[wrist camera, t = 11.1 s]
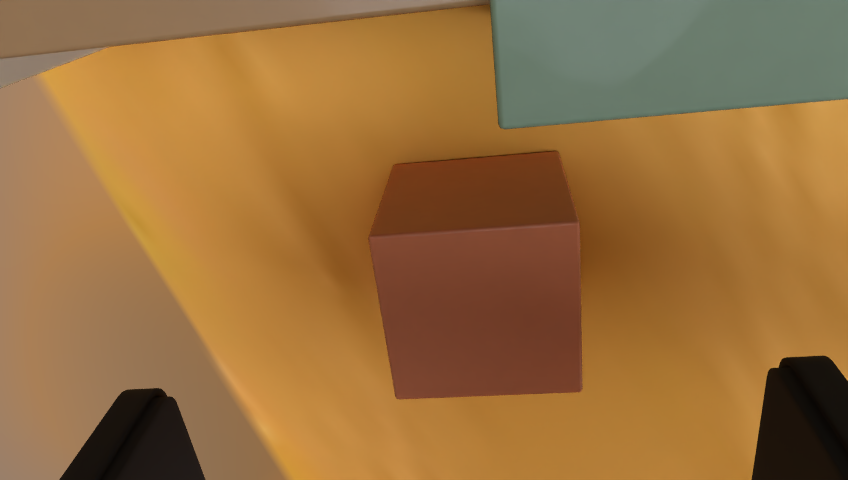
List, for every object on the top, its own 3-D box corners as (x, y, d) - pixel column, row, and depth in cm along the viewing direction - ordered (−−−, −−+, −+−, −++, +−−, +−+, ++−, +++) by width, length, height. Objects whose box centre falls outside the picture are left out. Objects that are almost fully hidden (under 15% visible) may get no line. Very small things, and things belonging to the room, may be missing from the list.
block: (562, 294, 19) (582, 393, 15) (412, 303, 20) (395, 400, 16) (558, 149, 17) (580, 221, 13) (392, 163, 18) (367, 236, 14)
